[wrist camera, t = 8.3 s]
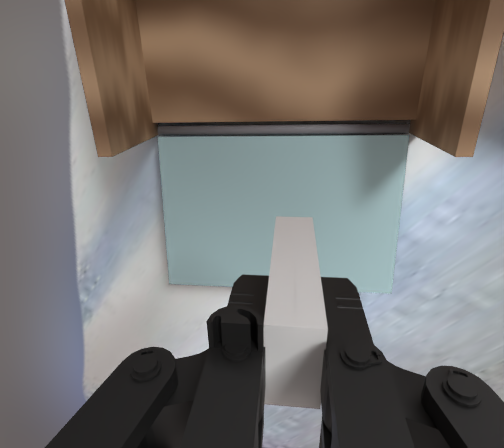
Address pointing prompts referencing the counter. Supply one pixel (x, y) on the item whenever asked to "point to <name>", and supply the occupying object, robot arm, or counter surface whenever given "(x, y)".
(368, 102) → the open wooden tray
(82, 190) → the counter surface
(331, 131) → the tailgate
